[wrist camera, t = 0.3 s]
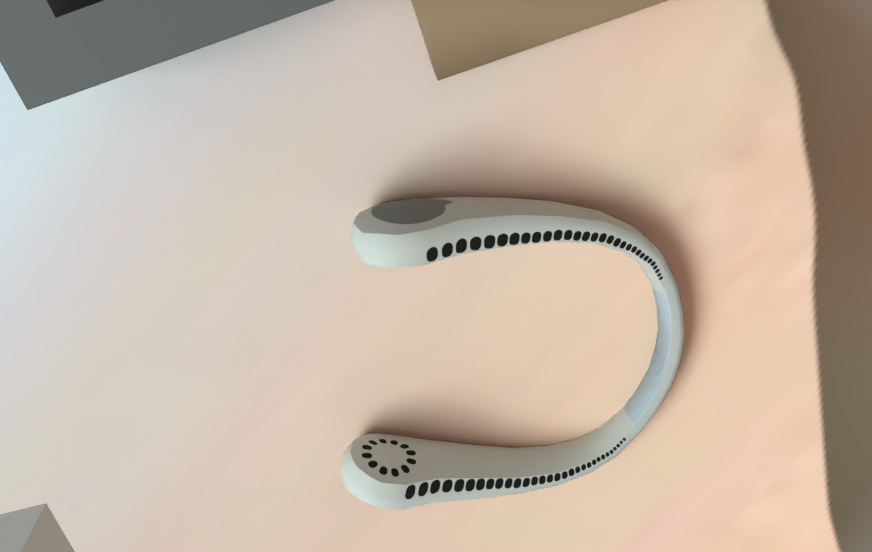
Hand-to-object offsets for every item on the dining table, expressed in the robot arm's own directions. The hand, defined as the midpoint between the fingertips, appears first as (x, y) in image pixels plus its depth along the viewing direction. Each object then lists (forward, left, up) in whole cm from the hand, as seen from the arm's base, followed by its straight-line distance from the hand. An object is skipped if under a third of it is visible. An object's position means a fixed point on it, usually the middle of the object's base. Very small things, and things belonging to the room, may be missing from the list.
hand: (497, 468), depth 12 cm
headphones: (+15, +1, -27) cm, 31 cm away
